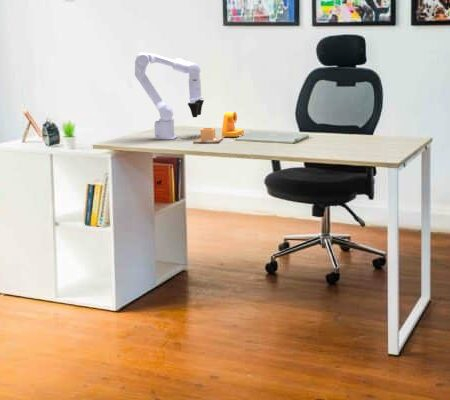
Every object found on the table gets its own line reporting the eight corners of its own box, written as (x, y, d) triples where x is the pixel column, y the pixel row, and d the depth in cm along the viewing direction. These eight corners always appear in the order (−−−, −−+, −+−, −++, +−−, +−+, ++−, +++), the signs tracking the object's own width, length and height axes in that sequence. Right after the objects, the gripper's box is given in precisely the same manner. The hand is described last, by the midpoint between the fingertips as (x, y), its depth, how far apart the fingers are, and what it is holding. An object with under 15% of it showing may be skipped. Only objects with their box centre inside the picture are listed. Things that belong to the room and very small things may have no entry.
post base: (193, 143, 445) (193, 141, 445) (199, 139, 456) (199, 137, 456) (218, 143, 442) (218, 141, 442) (223, 139, 454) (223, 137, 454)
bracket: (235, 138, 457) (234, 113, 454) (222, 137, 460) (221, 113, 457) (244, 134, 466) (243, 110, 463) (231, 134, 469) (230, 110, 466)
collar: (200, 140, 447) (200, 129, 446) (203, 138, 453) (203, 127, 451) (212, 140, 446) (212, 129, 445) (215, 138, 451) (214, 127, 450)
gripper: (199, 89, 452) (201, 117, 455) (206, 86, 465) (207, 113, 468) (185, 90, 453) (187, 118, 456) (192, 86, 467) (194, 114, 470)
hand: (196, 116), depth 462 cm, fingers open, 7 cm apart
